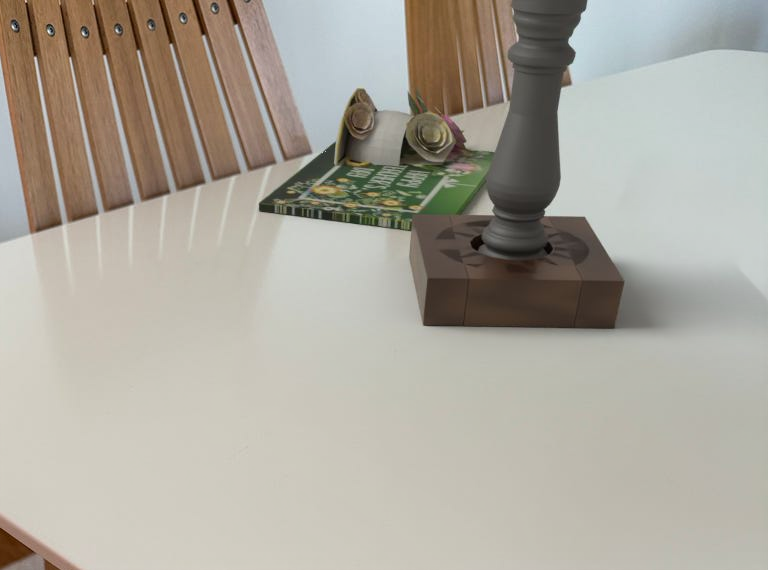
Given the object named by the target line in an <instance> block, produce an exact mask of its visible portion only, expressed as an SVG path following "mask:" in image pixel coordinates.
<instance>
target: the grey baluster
mask: <svg viewBox="0 0 768 570" xmlns="http://www.w3.org/2000/svg"><path fill="white" fill-rule="evenodd" d="M587 7H588V0H511V1H510V8H512V10H513V15H512V21H513V23H514V25H515V30H516V31H515V32H516V34H517V35H518V40H517V41H516V42H515V43H514V44H512V45H511V46H510V47H509V49H508V50H507V59H508V61H510V63H512V66H511V67H512V69H513V77H512V78H513V79H512V85H511V93H510V98H509V99H510V100H509V107H508V108H509V109H508V112H507V115H506V118H505V121H504V124H503V127H502V130H501V132H500V136H499V138H498V142H497V145H496V147H495V150H494V152H495V153H494V156H493V159H492V161H491V164H490V167H489V170H488V173H487V177H486V181H485V187H486V188H485V189H486V192H487V195H488V198H489V200H490V201H491V203H492V204H493V208H492V210H491V212H492V213H493V215H495V218H493V220H492V221H491V222H490V224H489V226H487V227H486V228H485V229H484V231H483V233H482V240H483V242H484V243H485V244H483V245H481V246H480V247H479V249H478V251H477V252H479V253H481V254H484V255H487V256H490V257H494V258H500V259H507V260H531V259H538V258H541V257H544V256H546V255H548V253H547V252H546V251H545V250H544V249H543V248H544V247H545V246H546V245H547V242H548V234H547V233H546V232H545V228H544V226H543V224H542V223H541V222H540V219H542V218H543V217H544V216H546V209H547V208H548V207H549V206H550V205H551V203H552V202H553V201H554V199H555V198H556V196H557V194H558V191H559V188H560V186H561V180H562V174H561V173H562V171H561V154H560V153H561V152H560V136H559V134H560V133H559V114H558V113H559V111H558V110H559V104H560V98H561V94H562V93H561V92H562V86H563V80H564V73H565V72H567V69H568V67H569V66H571V65H572V64H574V61H575V59H576V54H577V52H576V50H575V49H574V48H573V47H572V46H571V45H570V43H569V39H570V38H571V37H572V36H573V34H574V31H575V29H576V28H577V27H578V26H579V24H580V22H581V20H582V14H583V13H584V12H586V10H587Z"/></svg>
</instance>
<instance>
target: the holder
mask: <svg viewBox="0 0 768 570" xmlns="http://www.w3.org/2000/svg"><path fill="white" fill-rule="evenodd" d="M493 218H495V214H490V215H489V214H460V215H432V214H413V215H412V227H411V230H410V241H409V253H408V258H409V259H408V260H409V263H410V268H411V273H412V278H413V282H414V283H413V284H414V289H415V292H416V293H415V294H416V298H417V302H418V306H419V312H420V318H421V323H422V325H423V326H451V327H452V326H456V327H458V326H459V327H460V326H461V327H510V328H511V327H513V328H514V327H515V328H574V329H575V328H577V329H578V328H579V329H580V328H582V329H583V328H584V329H615V327H616V324H617V323H616V322H617V318H618V314H619V309H620V306H621V305H620V304H621V299H622V295H623V291H624V287H625V286H624V285H625V280H624V278H623V276H622V274H621V272H620V271H619V269H618V268H617V266H616V264H615V263H614V261H613V260H612V259H611V257H610V255H609V253H608V252H607V250H606V248H605V247H604V246H603V244H602V242H601V240H600V239H599V238H598V236H597V234H596V233H595V231H594V228H593V227H592V226H591V224H590V223H589V221H588V219H587V218H586V216H573V215H572V216H568V215H567V216H564V215H563V216H562V215H544V217H543V218H542V219H540V222H541V223H542V224H543V226H544V228H545V232H546V233H547V234H548V242H547V245H546V246H545V247H544V248H543V249H544V250H545V251H546V252H547V253H548V255H546V256H544V257H541V258H538V259H531V260H507V259H500V258H494V257H490V256H487V255H484V254H481V253H479V252H477V251H478V249H479V247H480V246H481V245H483V244H485V243H484V242H483V240H482V233H483V231H484V229H485V228H486V227H487V226H489V224H490V222H491V221H492V220H493Z"/></svg>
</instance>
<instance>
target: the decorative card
mask: <svg viewBox="0 0 768 570" xmlns="http://www.w3.org/2000/svg"><path fill="white" fill-rule="evenodd" d="M414 87H415V88H414V89H415V98H416V100H417V102H418V104H419V106H420V108H419V106H418V105H417V103H416V101H415V100H414V98H413V97H412V95H411V94H410V92H409V90H407V92H406V93H407V102H408V107H409V108H410V109H411V112H412V113H413V115H412V114H409V113H406V112H403V111H399V110H391V109H390V110H388V109H386V110H385V109H384V110H378V108H377V107H376V105H375V103H374V101H373V100H372V98H371V96H370V95H369V94H368V93H367V91H366V89H365V88H362V87H361V88H360V87H357V88H356V89H355V91H354V92H353V93H352V94H351V96H350V98H349V99H348V101H347V103H346V105H345V107H344V110H343V112H342V116H341V119H340V122H339V125H338V130H337V135H336V140H335V141H334V142H333V143H331V144H330V145H329V146H327V147H326V148H325V149H324V150H323V151H322V152H323V153H322V152H320V153H318V154H317V156H315V157H314V158H312V160H310V161H309V162H307V164H305V165H304V166H303V167H301V168H300V169H299V170H298V171H296V172H295V173H294V174H293V175H292V176H291V177H289V178H288V179H287V180H286V181H284V182H283V183H282V184H280V185H279V186H278V187H276V189H274V190H273V191H272V192H271V193H269V194H268V195H266V196H265V197H264V198H263V199H261V201H259V202H258V211H259V212H266V213H274V214H280V215H281V214H282V215H288V216H289V215H290V216H297V217H305V218H312V219H313V218H314V219H320V220H329V221H337V222H344V223H350V224H351V223H352V224H360V225H366V226H376V227H382V228H383V227H384V228H391V229H399V230H407V231H411V227H412V215H413V214H432V215H462V214H463V211H464V210H465V209H466V207H468V205H469V203H470V202H471V201H472V199H473V198H474V197H475V196H476V195H477V193H478V191H480V189H481V188H482V186H483V185H484V184H485V183H486V177H487V173H488V170H489V167H490V164H491V161H492V159H493V156H494V153H495V151H487V150H479V149H478V150H476V149H470V148H469V149H467V148H466V145H465V144H466V143H467V139H466V137H465V136H464V132H465V130H464V129H463V130H461V128H460V127H459V126H458V125H457V124H456V122H455V121H454V120H453V119H451V118H450V117H449V116H448V115H445V114H444V113H442V112H441V111H440V110H439V109H438V108H437V107H436V106H434V108H435V109H436V111H437V112H438V113H436V112H433V111H431V110H430V109H427V108H426V105H425V101H423V98H422V96H421V94H420V92H419V90H418V86H417V85H416V84H414ZM325 151H326V152H325Z"/></svg>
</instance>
